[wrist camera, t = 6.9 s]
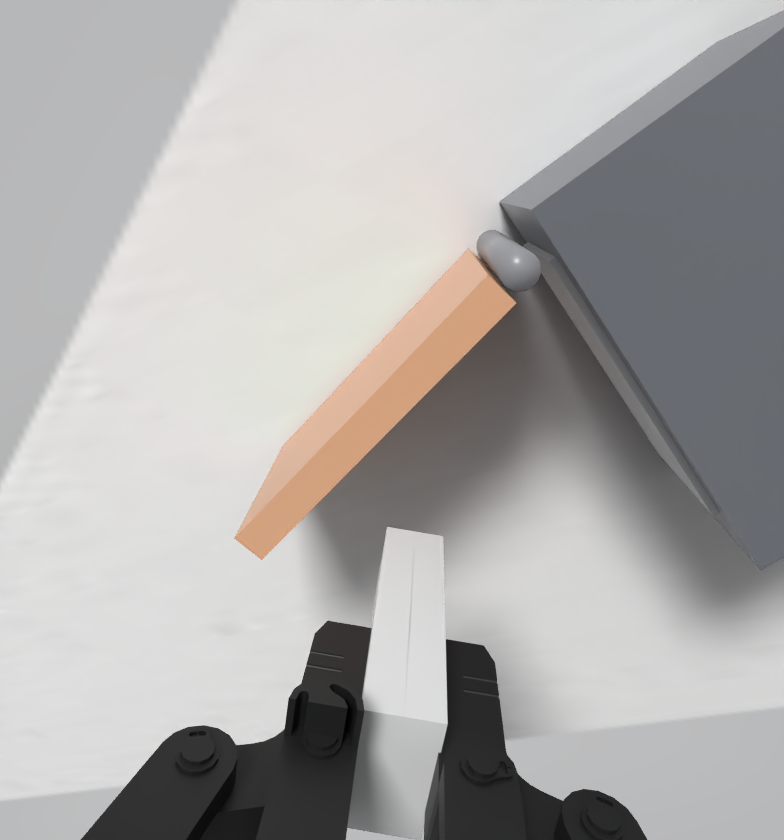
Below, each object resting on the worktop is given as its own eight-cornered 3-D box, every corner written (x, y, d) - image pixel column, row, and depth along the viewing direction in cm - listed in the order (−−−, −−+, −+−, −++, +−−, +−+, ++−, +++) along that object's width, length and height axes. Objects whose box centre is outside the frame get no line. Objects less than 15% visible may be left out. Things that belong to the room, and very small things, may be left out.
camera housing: (910, 330, 24) (1124, 395, 16) (668, 473, 26) (764, 585, 19) (753, 15, 21) (929, -74, 13) (494, 205, 23) (527, 216, 16)
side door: (302, 463, 26) (261, 559, 19) (282, 446, 26) (234, 538, 19) (512, 244, 23) (549, 269, 16) (491, 223, 23) (521, 240, 16)
